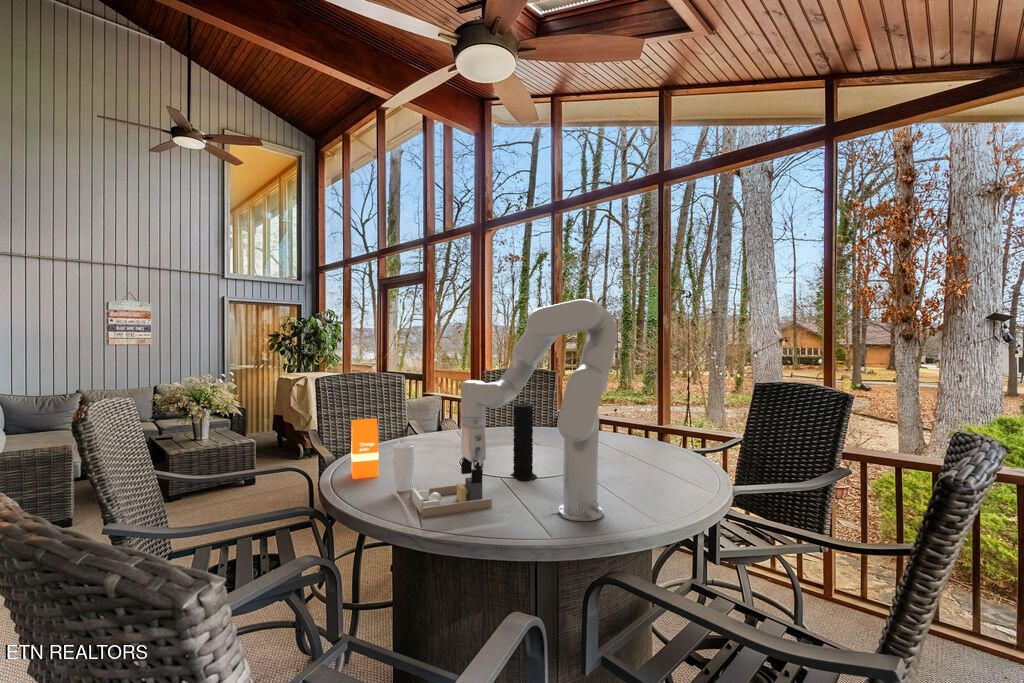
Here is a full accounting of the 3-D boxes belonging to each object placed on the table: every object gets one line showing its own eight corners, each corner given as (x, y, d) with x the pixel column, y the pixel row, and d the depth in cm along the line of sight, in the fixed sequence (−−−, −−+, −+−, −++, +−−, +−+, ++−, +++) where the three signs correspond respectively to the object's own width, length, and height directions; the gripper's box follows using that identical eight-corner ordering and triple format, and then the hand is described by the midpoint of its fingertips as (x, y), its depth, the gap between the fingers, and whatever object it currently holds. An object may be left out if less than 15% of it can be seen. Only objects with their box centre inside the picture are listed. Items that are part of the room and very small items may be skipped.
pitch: (491, 510, 146) (491, 498, 146) (422, 520, 138) (422, 508, 138) (472, 492, 161) (472, 482, 161) (409, 501, 153) (409, 490, 153)
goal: (438, 511, 142) (438, 497, 142) (420, 513, 140) (420, 499, 140) (428, 499, 153) (428, 486, 153) (411, 501, 151) (411, 488, 151)
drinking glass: (393, 496, 158) (393, 448, 158) (392, 489, 164) (392, 443, 164) (415, 494, 160) (415, 447, 159) (413, 487, 166) (413, 442, 166)
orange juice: (378, 476, 179) (378, 420, 179) (352, 479, 176) (352, 421, 176) (376, 470, 187) (375, 416, 186) (351, 473, 183) (350, 418, 183)
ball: (437, 491, 146) (428, 500, 145) (445, 500, 147) (435, 509, 146) (434, 488, 149) (425, 497, 148) (441, 496, 150) (432, 505, 149)
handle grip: (536, 481, 173) (537, 473, 183) (536, 404, 173) (538, 400, 183) (507, 481, 174) (510, 472, 184) (507, 404, 174) (510, 400, 184)
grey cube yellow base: (482, 500, 151) (482, 480, 151) (461, 503, 148) (461, 483, 148) (477, 495, 155) (477, 476, 155) (456, 498, 153) (456, 478, 153)
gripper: (495, 426, 146) (493, 485, 146) (475, 416, 161) (473, 469, 162) (470, 427, 143) (468, 488, 143) (452, 417, 158) (451, 471, 159)
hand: (471, 478), depth 153 cm, fingers open, 9 cm apart
